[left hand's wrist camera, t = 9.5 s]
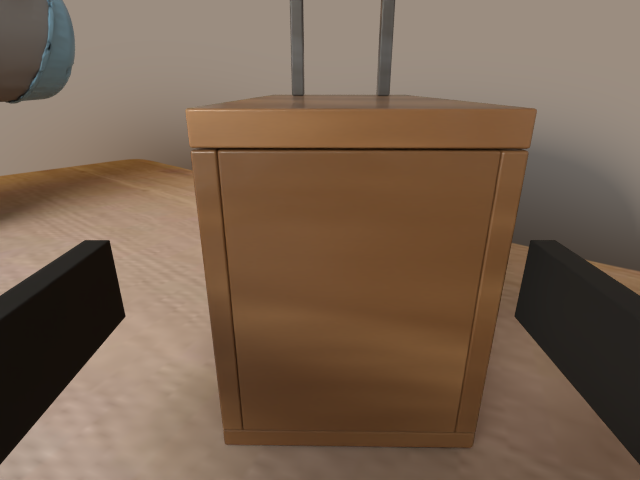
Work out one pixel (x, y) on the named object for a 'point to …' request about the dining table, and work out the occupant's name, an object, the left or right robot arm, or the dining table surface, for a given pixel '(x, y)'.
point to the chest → (354, 289)
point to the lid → (357, 113)
